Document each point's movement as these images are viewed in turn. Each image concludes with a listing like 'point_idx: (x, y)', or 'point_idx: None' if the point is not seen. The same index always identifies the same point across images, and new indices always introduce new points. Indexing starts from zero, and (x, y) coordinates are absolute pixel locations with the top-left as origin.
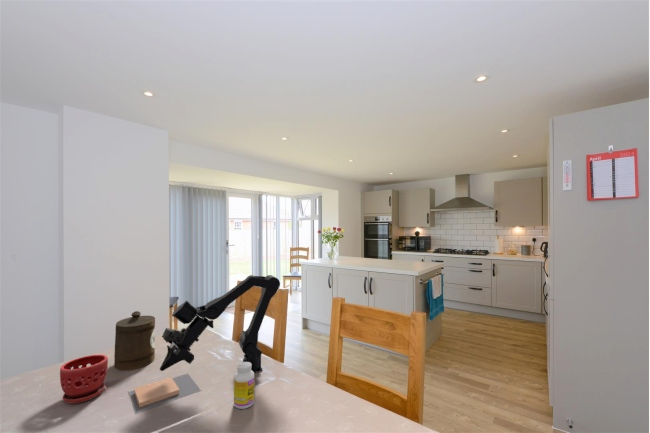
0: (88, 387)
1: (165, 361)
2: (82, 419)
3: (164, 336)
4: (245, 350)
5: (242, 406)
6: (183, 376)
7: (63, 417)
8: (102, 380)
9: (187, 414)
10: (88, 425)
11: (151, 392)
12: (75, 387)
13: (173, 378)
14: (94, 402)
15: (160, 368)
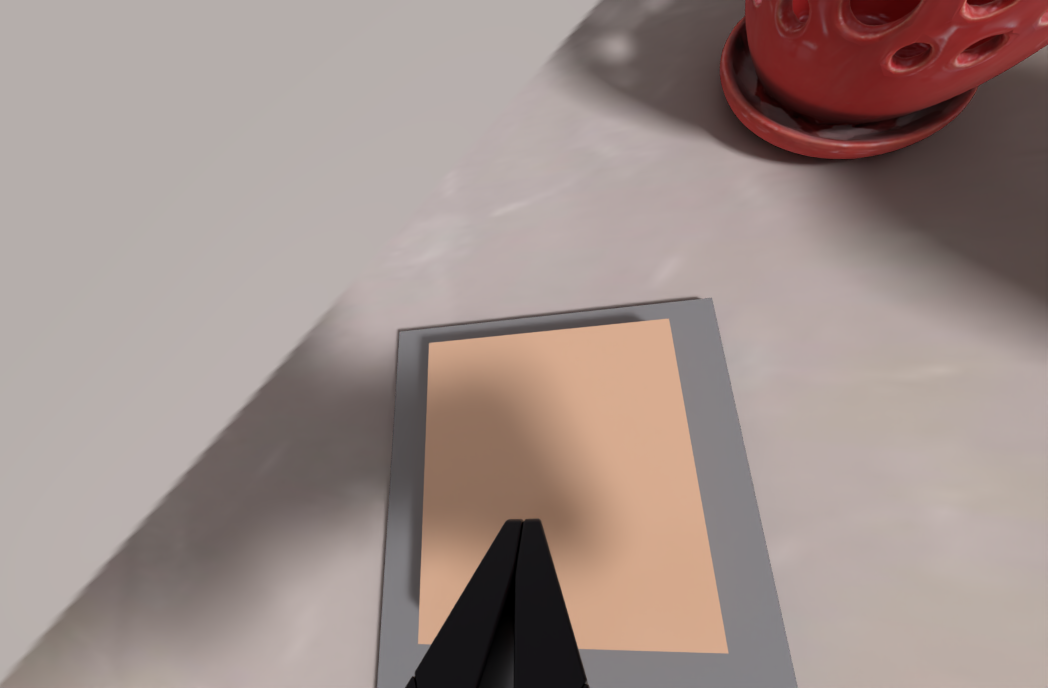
0: (754, 25)
1: (462, 656)
2: (545, 131)
3: None
4: None
5: None
6: None
7: (619, 63)
8: (840, 77)
9: (204, 596)
10: (473, 160)
11: (520, 426)
12: None
13: (777, 672)
14: (699, 148)
15: (512, 528)
